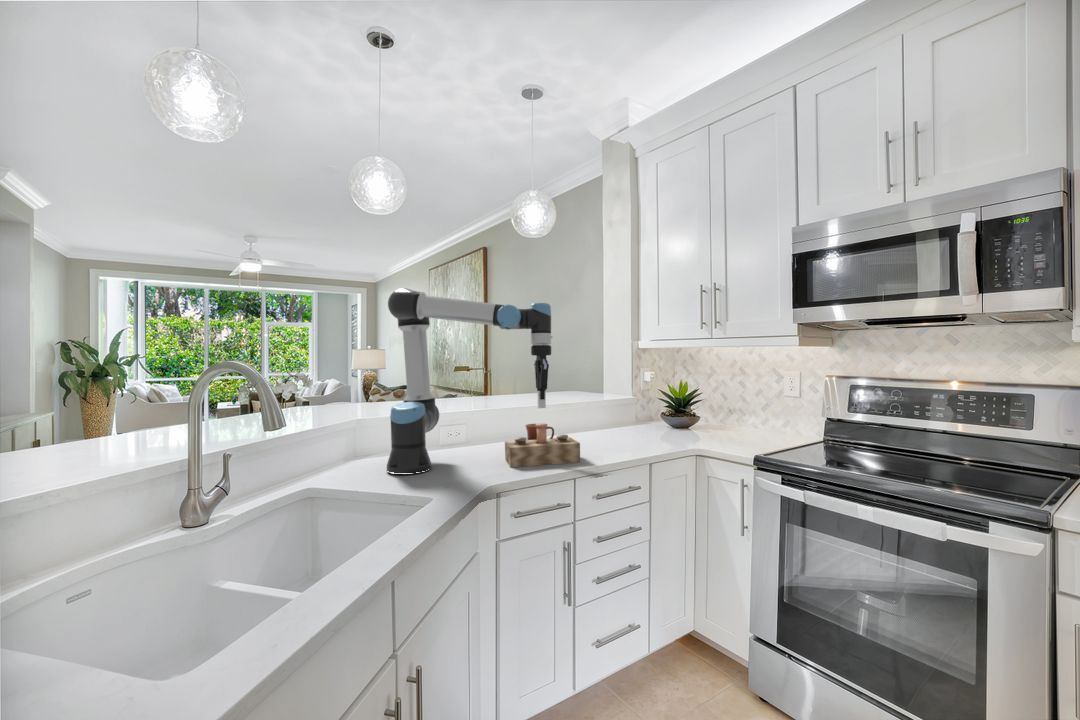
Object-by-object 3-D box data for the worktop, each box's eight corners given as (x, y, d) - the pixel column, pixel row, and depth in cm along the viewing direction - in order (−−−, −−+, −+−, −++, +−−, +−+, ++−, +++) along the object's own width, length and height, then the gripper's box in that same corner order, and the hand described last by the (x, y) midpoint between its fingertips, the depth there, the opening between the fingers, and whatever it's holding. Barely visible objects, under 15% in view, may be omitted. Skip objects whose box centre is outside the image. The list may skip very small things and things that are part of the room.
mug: (524, 451, 192) (524, 426, 192) (527, 447, 200) (526, 423, 200) (553, 451, 191) (553, 426, 190) (555, 447, 199) (554, 423, 199)
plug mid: (537, 449, 172) (537, 425, 172) (534, 446, 177) (534, 423, 177) (549, 448, 173) (548, 424, 173) (546, 446, 178) (545, 423, 178)
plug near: (516, 463, 171) (515, 439, 171) (514, 460, 175) (513, 437, 175) (528, 462, 172) (527, 438, 172) (525, 460, 176) (525, 436, 176)
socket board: (510, 467, 166) (510, 447, 166) (505, 459, 178) (504, 441, 178) (580, 462, 172) (579, 443, 172) (570, 455, 184) (570, 437, 184)
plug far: (558, 460, 174) (558, 436, 174) (555, 457, 179) (555, 434, 178) (569, 459, 175) (569, 436, 175) (566, 457, 180) (566, 434, 179)
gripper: (555, 344, 169) (555, 409, 170) (546, 345, 182) (547, 405, 182) (535, 344, 167) (535, 410, 168) (527, 345, 180) (528, 406, 180)
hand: (541, 407), depth 175 cm, fingers closed
